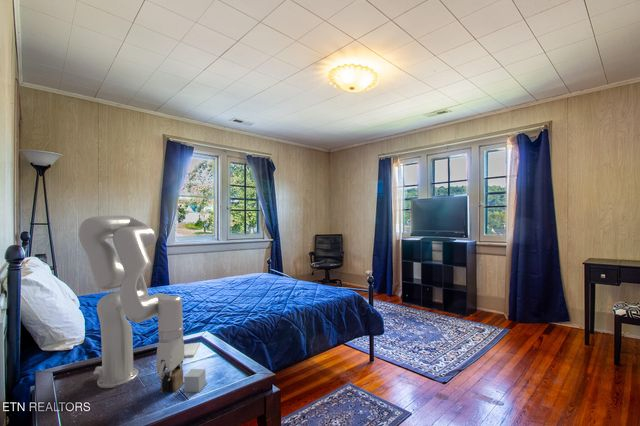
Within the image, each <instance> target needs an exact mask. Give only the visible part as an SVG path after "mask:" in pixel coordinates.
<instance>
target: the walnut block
mask: <svg viewBox="0 0 640 426" xmlns="http://www.w3.org/2000/svg"><path fill="white" fill-rule="evenodd" d="M165 375H167V376H168V373H165ZM171 379H172V381H173V391H172V392H176V391H177V390H178V389H179V388H180V387H181V385H182V384H183V383H184V369H183V368H182V369H173V370H172V376H171ZM181 388H182V387H181ZM181 388H180V389H181ZM180 389H179V390H180ZM179 390H178V391H179ZM160 391H163V386H162V381H161V380H160ZM178 391H177V392H178ZM177 392H176V393H177Z"/></svg>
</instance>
